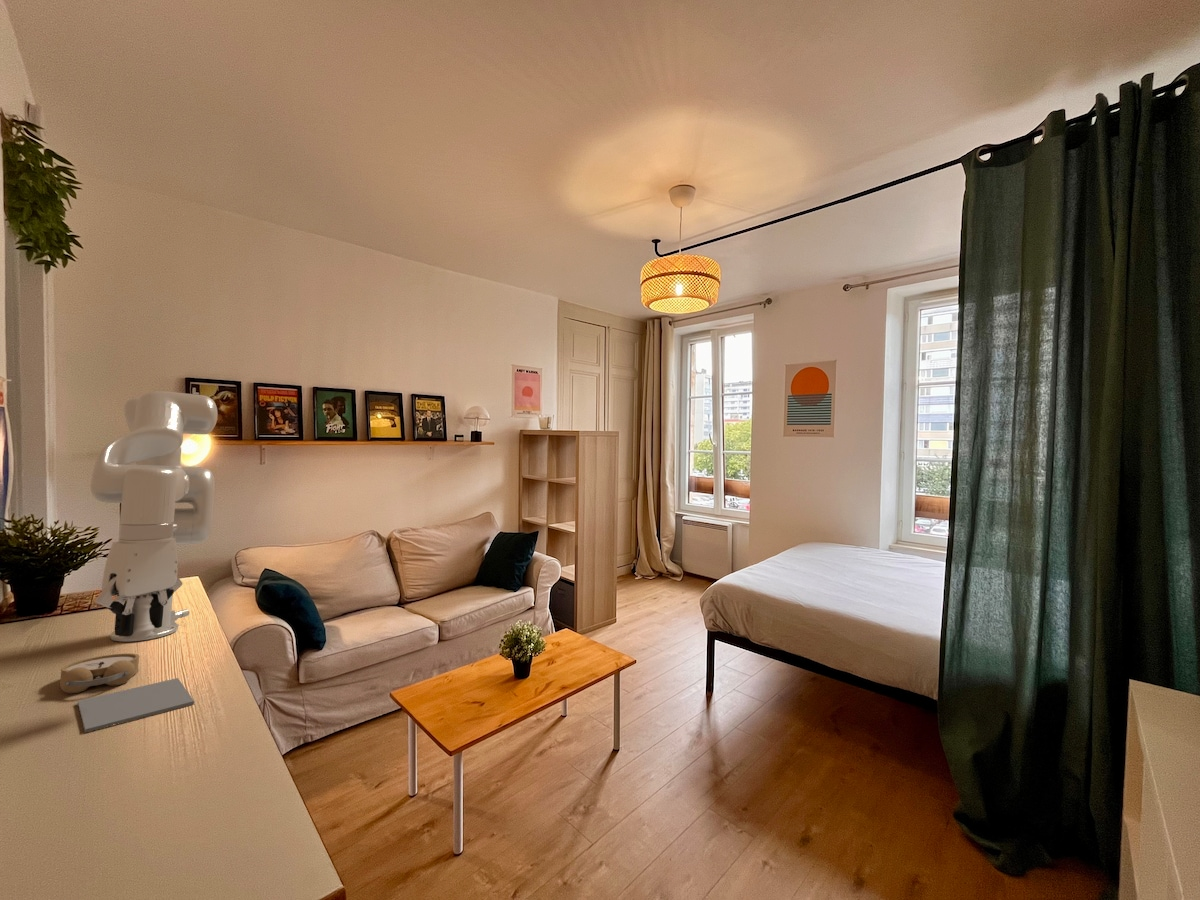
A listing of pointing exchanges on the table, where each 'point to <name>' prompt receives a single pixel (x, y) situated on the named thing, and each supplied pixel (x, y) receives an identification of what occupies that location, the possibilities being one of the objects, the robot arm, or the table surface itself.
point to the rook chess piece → (141, 619)
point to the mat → (133, 704)
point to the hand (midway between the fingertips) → (138, 630)
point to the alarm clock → (98, 672)
